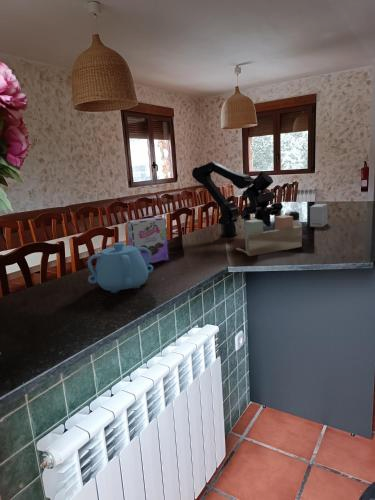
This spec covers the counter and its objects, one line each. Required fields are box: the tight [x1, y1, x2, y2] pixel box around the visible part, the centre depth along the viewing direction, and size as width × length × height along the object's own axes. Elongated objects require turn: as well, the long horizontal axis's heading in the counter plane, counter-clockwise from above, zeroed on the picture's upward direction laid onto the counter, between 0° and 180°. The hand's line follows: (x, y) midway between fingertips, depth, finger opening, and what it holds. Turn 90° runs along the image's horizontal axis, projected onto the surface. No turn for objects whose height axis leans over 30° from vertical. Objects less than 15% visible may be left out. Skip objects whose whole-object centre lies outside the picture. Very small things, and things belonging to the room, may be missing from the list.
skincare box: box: [309, 203, 328, 228], centre depth 180 cm, size 10×6×10 cm, turn 145°
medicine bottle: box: [284, 210, 303, 228], centre depth 153 cm, size 7×7×12 cm
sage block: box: [244, 219, 264, 251], centre depth 136 cm, size 5×5×12 cm
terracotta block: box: [274, 214, 293, 230], centre depth 141 cm, size 5×5×12 cm
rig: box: [235, 226, 303, 257], centre depth 140 cm, size 12×24×8 cm, turn 112°
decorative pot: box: [87, 241, 154, 294], centre depth 106 cm, size 16×16×14 cm
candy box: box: [126, 216, 170, 265], centre depth 131 cm, size 14×6×16 cm, turn 117°
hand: (269, 226), depth 149 cm, fingers closed
